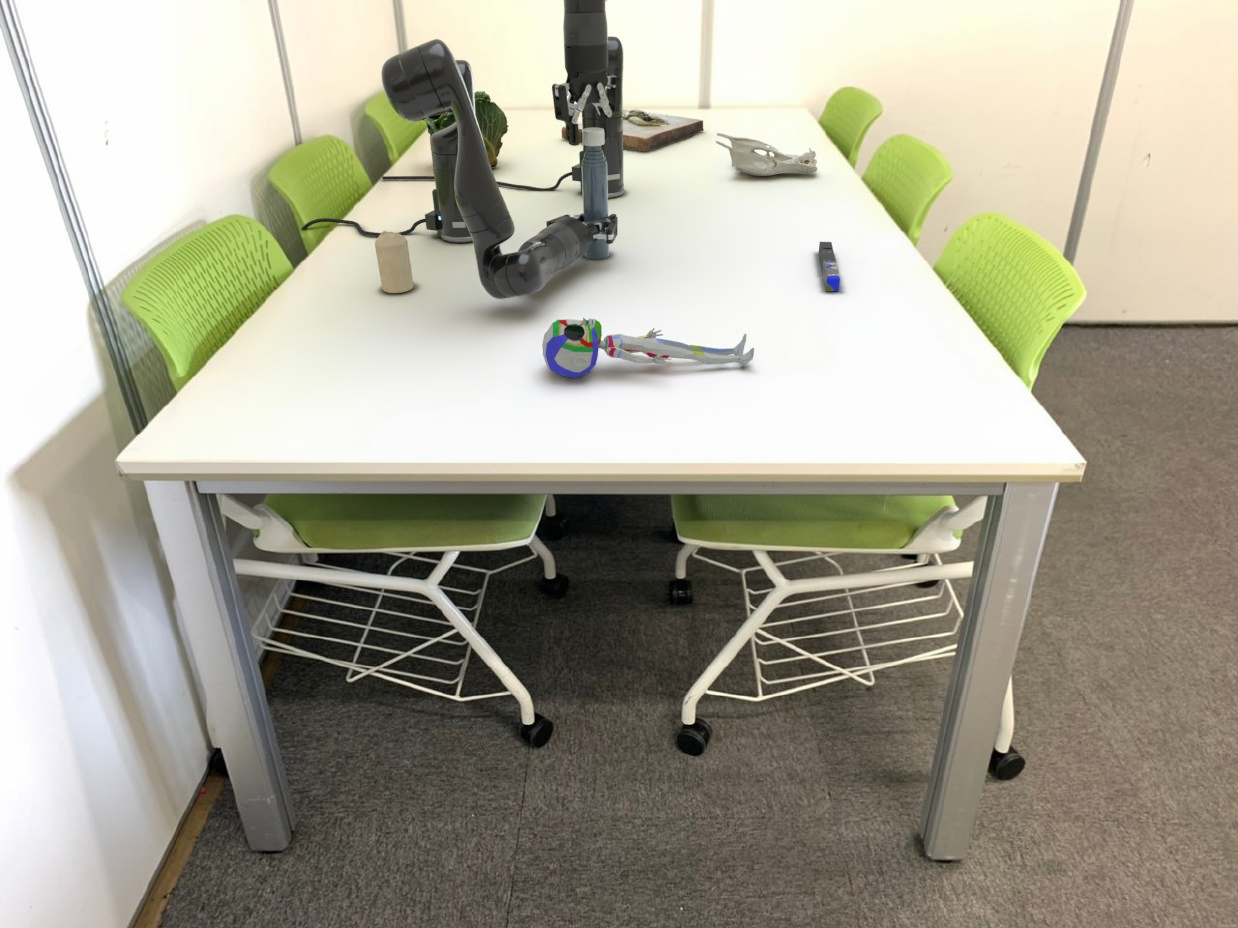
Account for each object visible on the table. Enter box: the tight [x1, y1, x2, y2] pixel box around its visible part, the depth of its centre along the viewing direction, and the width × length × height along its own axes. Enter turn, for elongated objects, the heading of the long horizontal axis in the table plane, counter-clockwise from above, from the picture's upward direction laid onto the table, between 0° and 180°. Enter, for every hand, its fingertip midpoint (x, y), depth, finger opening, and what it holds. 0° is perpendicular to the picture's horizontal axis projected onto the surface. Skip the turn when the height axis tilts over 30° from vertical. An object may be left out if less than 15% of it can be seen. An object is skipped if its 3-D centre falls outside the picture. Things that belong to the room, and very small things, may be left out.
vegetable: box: [423, 90, 510, 169], centre depth 225 cm, size 20×19×20 cm
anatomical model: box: [715, 132, 818, 177], centre depth 219 cm, size 15×9×25 cm
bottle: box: [581, 146, 610, 260], centre depth 167 cm, size 5×5×23 cm
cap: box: [582, 127, 605, 146], centre depth 161 cm, size 4×4×2 cm
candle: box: [374, 230, 414, 294], centre depth 157 cm, size 6×6×10 cm
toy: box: [541, 317, 755, 379], centre depth 130 cm, size 10×8×30 cm
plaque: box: [561, 108, 705, 152], centre depth 257 cm, size 30×7×30 cm
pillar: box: [818, 241, 841, 292], centre depth 163 cm, size 2×2×20 cm
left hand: (601, 217), depth 172 cm, fingers closed on bottle, 4 cm apart
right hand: (588, 141), depth 162 cm, fingers open, 6 cm apart
